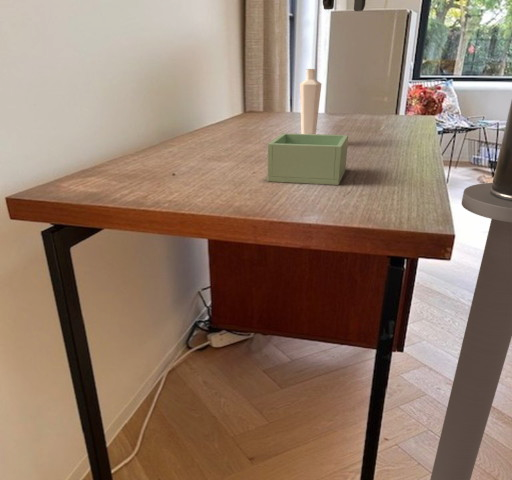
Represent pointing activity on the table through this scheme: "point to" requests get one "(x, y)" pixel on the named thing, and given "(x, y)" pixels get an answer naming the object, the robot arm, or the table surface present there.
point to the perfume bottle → (309, 102)
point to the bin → (307, 158)
